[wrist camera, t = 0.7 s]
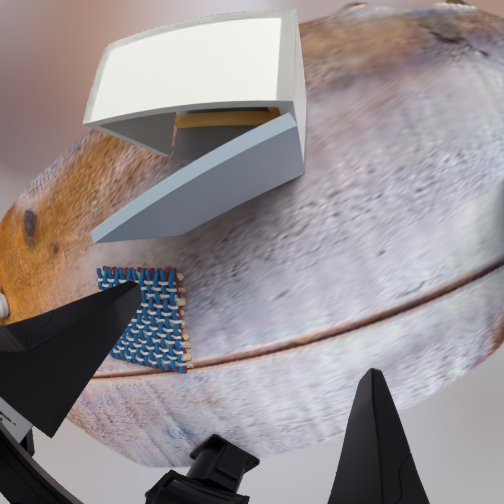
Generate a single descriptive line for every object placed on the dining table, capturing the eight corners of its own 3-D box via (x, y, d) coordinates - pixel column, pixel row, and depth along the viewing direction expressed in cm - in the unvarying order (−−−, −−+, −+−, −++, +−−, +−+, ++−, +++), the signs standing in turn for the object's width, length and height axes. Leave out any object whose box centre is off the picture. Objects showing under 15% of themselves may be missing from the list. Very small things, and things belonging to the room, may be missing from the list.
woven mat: (117, 354, 28) (106, 361, 26) (104, 264, 27) (91, 267, 25) (196, 370, 25) (188, 379, 23) (187, 266, 25) (177, 269, 23)
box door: (304, 173, 18) (297, 125, 9) (180, 235, 20) (94, 243, 11) (300, 165, 18) (289, 112, 9) (177, 228, 20) (90, 231, 11)
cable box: (304, 171, 21) (292, 100, 8) (188, 167, 23) (81, 124, 10) (307, 115, 21) (295, 9, 8) (195, 115, 23) (105, 45, 10)
